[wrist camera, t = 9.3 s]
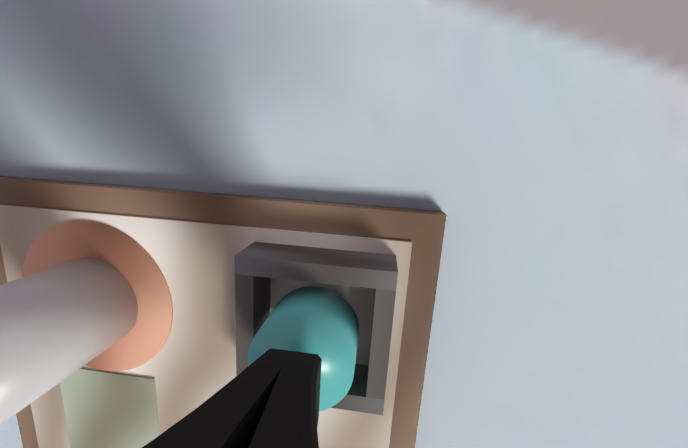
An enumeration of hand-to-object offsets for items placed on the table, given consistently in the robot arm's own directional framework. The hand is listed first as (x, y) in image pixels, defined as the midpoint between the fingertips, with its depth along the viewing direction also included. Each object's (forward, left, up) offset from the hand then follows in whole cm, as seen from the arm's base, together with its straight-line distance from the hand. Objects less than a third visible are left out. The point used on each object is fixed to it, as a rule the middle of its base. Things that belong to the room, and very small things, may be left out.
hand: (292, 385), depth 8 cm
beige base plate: (-5, -3, -4) cm, 7 cm away
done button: (0, 0, -4) cm, 4 cm away
